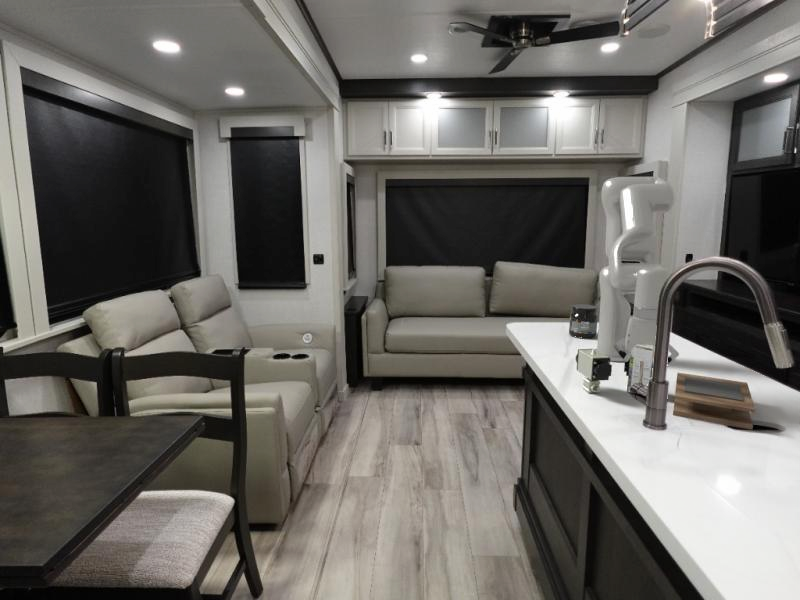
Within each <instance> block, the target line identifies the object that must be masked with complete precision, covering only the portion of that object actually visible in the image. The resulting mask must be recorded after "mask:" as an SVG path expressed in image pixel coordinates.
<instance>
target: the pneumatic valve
mask: <svg viewBox="0 0 800 600" xmlns="http://www.w3.org/2000/svg"><path fill="white" fill-rule="evenodd" d="M595 349H596V348H579V349H577V353H576V355H575V362H576V371H577V372H579V373H580V374H582V375H583V376H585V377H583V378H582V380H583V381H582V383H583V384H582V389H583V390H584V391H585V392H587V393H588V394H591V393H597V394H598V393H600V392H601V391H600V389H601V385H600V384H601V381H609V380H610V377H612V368H613V364H611V361H610V358H609V357H607V356H606V354H604V353H600V352H598V351H596V350H595Z"/></svg>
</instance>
